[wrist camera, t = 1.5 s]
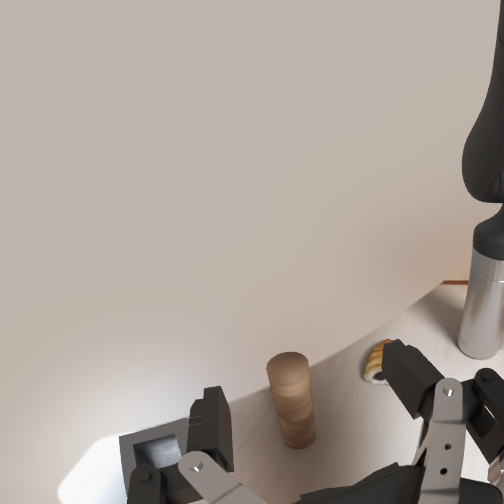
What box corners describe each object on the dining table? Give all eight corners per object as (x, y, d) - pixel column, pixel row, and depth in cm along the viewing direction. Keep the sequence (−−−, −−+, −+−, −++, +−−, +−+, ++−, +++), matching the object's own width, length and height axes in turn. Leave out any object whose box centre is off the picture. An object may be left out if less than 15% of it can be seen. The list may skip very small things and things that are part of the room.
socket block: (198, 437, 31) (185, 417, 29) (221, 491, 22) (208, 477, 20) (136, 454, 27) (118, 436, 26) (147, 509, 19) (126, 496, 17)
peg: (317, 425, 30) (311, 352, 25) (311, 449, 26) (304, 381, 22) (288, 423, 31) (272, 351, 26) (280, 447, 27) (261, 378, 23)
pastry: (372, 345, 42) (373, 328, 41) (408, 348, 38) (411, 331, 37) (361, 385, 34) (362, 368, 33) (403, 389, 31) (408, 372, 30)
